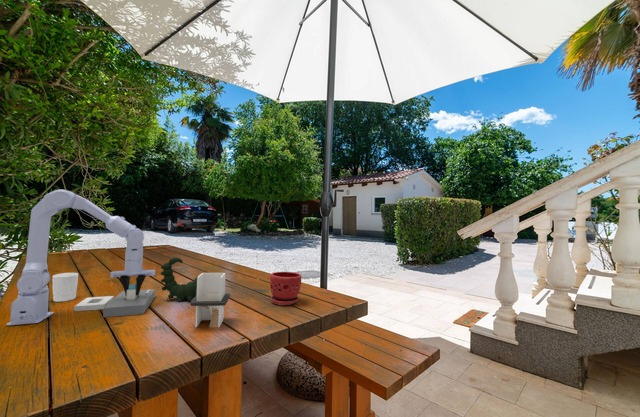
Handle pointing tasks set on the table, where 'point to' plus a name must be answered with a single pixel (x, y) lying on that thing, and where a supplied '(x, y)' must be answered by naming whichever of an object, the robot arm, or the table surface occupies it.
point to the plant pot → (285, 287)
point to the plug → (131, 292)
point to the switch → (129, 304)
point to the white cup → (64, 286)
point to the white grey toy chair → (210, 298)
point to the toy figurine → (172, 286)
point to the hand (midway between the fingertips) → (132, 294)
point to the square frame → (93, 303)
